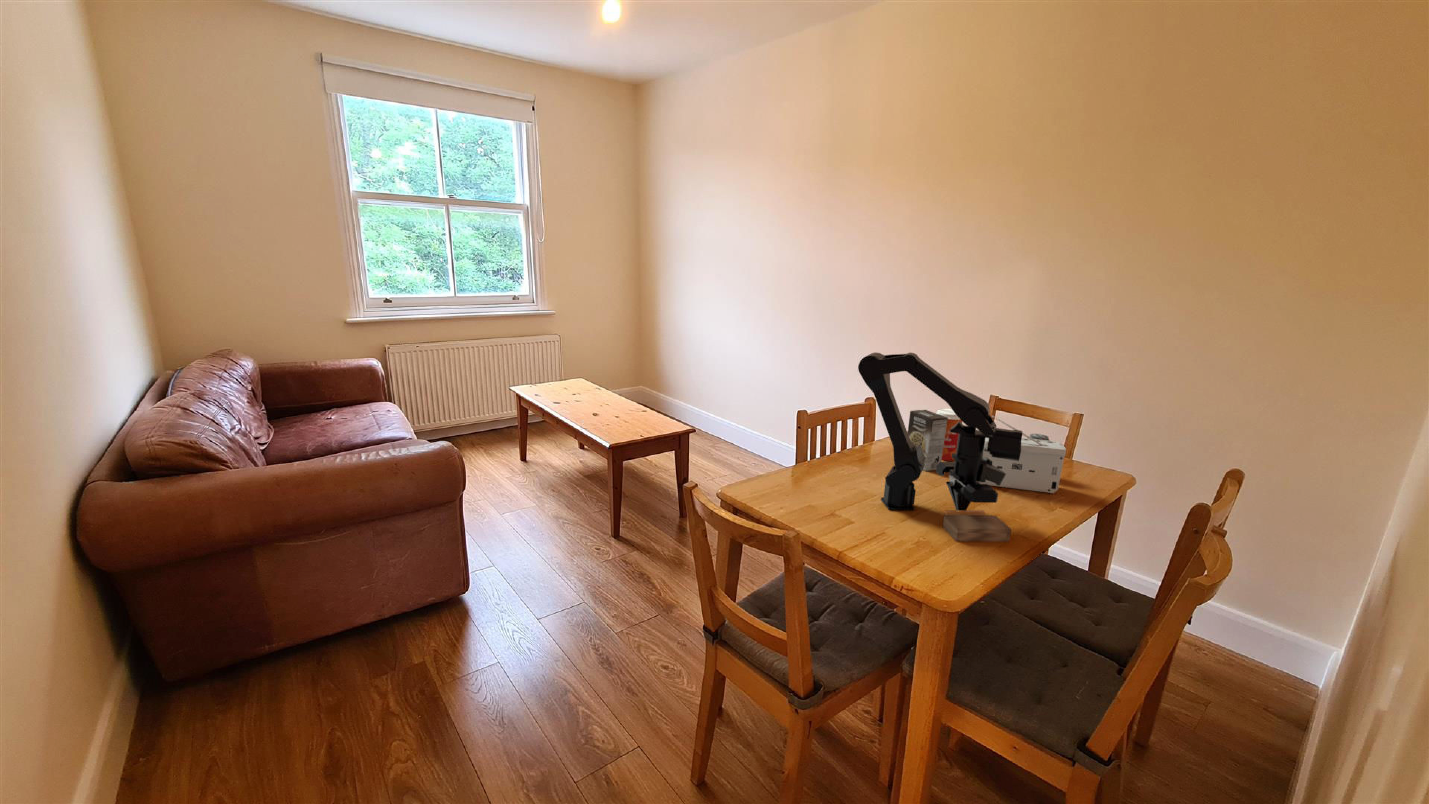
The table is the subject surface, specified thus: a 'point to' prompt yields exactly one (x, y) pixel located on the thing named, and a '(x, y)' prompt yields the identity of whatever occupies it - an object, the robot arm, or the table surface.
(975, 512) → the plate
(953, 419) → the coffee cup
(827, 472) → the table surface
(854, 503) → the table surface
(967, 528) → the taupe rectangular slab
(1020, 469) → the stereo radio cassette player
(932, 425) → the coffee box
